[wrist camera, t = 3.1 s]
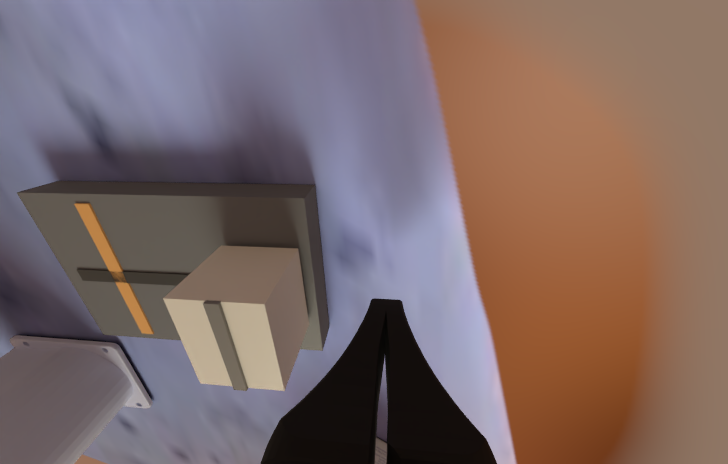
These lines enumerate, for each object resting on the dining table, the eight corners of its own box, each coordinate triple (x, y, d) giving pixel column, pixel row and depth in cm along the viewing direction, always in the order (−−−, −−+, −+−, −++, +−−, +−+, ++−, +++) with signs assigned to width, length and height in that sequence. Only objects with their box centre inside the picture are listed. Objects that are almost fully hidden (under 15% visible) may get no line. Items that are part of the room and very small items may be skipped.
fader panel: (128, 313, 21) (102, 335, 19) (58, 180, 16) (14, 193, 14) (329, 326, 19) (322, 352, 17) (315, 184, 15) (303, 199, 13)
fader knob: (242, 319, 17) (198, 386, 13) (220, 245, 14) (160, 301, 11) (308, 323, 16) (283, 394, 12) (298, 248, 14) (262, 307, 10)
